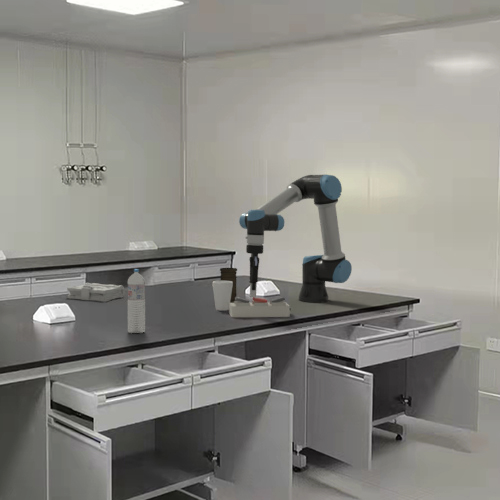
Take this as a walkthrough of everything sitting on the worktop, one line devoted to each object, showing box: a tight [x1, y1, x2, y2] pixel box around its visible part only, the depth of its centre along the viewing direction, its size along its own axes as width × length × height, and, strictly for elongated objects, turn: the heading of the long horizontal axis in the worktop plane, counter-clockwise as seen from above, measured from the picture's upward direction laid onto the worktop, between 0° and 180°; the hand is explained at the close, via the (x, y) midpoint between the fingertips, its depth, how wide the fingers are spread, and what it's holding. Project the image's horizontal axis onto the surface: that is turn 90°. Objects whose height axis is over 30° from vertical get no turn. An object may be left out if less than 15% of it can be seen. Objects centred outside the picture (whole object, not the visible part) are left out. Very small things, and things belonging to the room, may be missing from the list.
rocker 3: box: [269, 295, 286, 303], centre depth 341 cm, size 6×4×1 cm, turn 97°
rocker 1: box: [235, 296, 250, 303], centre depth 339 cm, size 6×4×1 cm, turn 98°
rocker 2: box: [252, 296, 268, 303], centre depth 340 cm, size 6×4×1 cm, turn 98°
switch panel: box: [228, 300, 292, 318], centre depth 343 cm, size 27×10×6 cm, turn 97°
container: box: [219, 267, 238, 303], centre depth 369 cm, size 9×9×18 cm
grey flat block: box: [67, 282, 125, 302], centre depth 390 cm, size 19×28×8 cm
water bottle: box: [127, 268, 146, 334], centre depth 299 cm, size 7×7×25 cm
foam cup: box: [212, 280, 233, 311], centre depth 357 cm, size 10×9×13 cm
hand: (252, 297), depth 340 cm, fingers closed
